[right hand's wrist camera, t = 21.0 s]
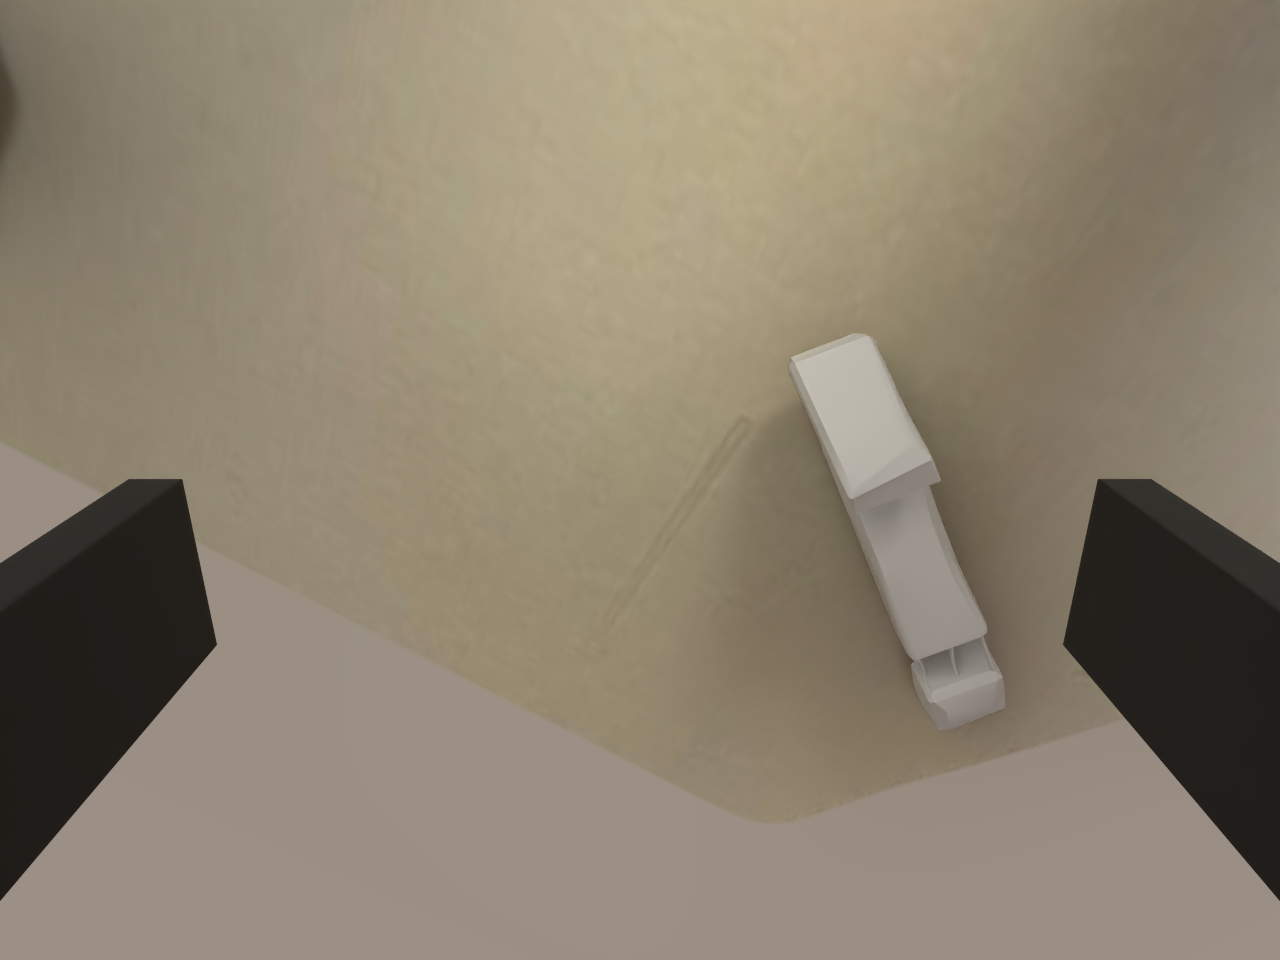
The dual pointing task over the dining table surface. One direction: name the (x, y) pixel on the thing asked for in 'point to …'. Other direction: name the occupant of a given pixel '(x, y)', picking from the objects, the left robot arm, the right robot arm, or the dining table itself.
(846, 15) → the dining table surface
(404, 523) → the dining table surface
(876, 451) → the clamp
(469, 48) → the dining table surface
